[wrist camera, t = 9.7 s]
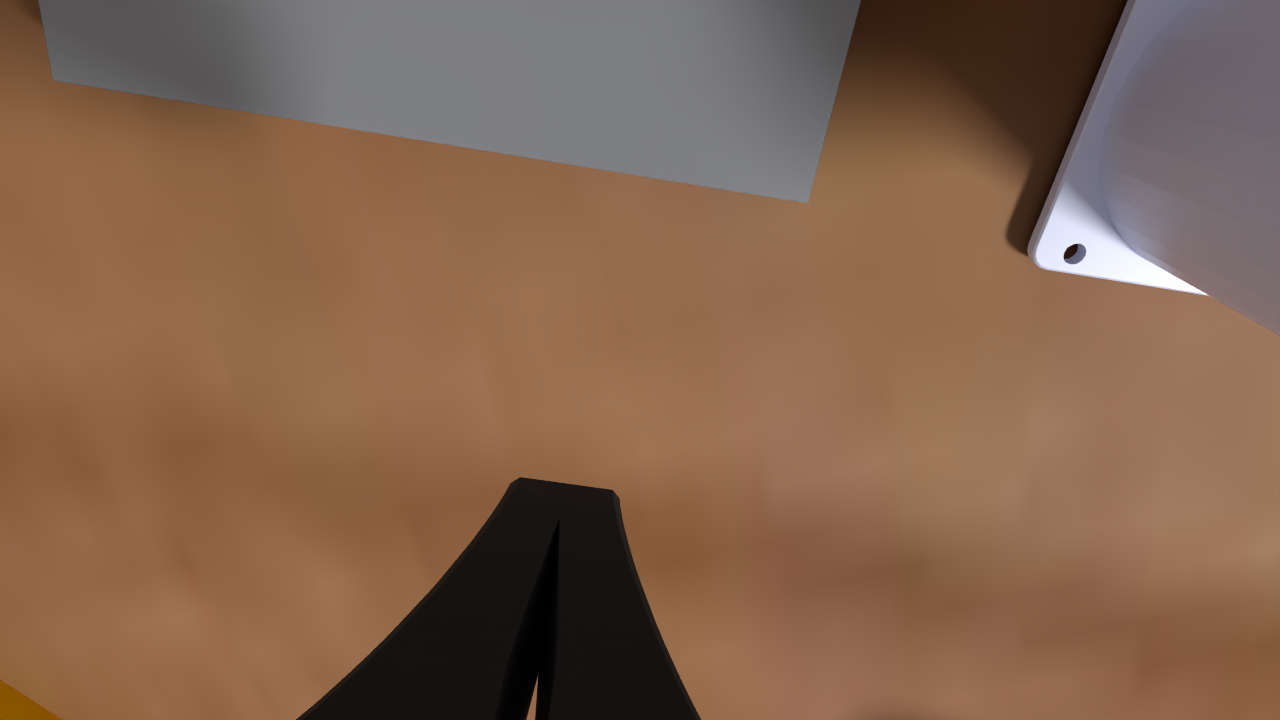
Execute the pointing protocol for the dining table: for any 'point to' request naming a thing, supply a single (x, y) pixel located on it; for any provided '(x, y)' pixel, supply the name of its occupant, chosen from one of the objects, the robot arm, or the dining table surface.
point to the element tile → (20, 706)
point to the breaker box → (498, 74)
